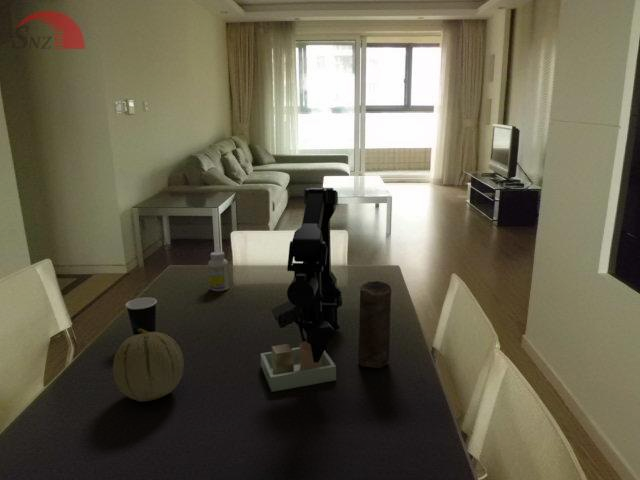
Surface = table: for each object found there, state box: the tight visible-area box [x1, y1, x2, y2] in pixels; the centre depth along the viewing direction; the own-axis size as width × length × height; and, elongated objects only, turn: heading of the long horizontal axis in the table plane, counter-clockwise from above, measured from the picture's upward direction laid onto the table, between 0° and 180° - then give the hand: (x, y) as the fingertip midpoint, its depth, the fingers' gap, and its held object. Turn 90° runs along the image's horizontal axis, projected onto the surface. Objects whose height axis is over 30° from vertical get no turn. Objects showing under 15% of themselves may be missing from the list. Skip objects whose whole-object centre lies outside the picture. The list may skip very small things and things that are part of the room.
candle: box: [357, 280, 392, 370], centre depth 122 cm, size 8×7×20 cm
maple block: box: [271, 343, 294, 375], centre depth 119 cm, size 4×4×6 cm
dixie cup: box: [125, 296, 158, 336], centre depth 139 cm, size 8×8×11 cm
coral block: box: [299, 341, 321, 370], centre depth 121 cm, size 4×4×6 cm
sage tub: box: [260, 346, 337, 393], centre depth 121 cm, size 15×12×4 cm
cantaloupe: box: [112, 329, 185, 403], centre depth 111 cm, size 15×15×15 cm
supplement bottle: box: [208, 251, 231, 292], centre depth 178 cm, size 7×7×13 cm
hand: (310, 353), depth 121 cm, fingers open, 9 cm apart
